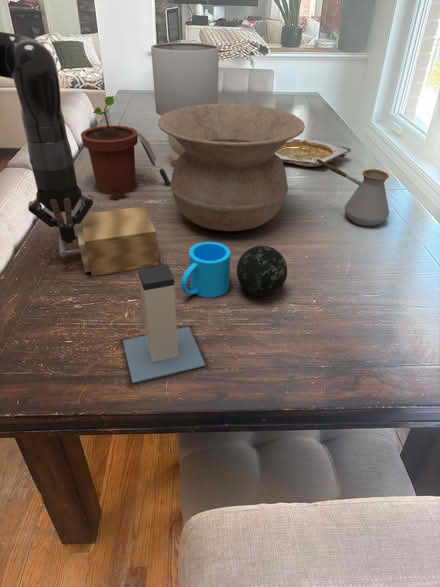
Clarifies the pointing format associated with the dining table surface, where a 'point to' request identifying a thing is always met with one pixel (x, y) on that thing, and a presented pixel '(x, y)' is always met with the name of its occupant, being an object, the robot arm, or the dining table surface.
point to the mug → (207, 270)
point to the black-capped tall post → (159, 312)
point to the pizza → (310, 152)
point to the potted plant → (115, 156)
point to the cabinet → (120, 240)
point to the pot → (230, 163)
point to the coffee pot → (366, 197)
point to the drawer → (82, 249)
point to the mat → (147, 370)
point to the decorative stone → (261, 270)
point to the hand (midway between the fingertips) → (69, 241)
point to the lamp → (184, 79)
